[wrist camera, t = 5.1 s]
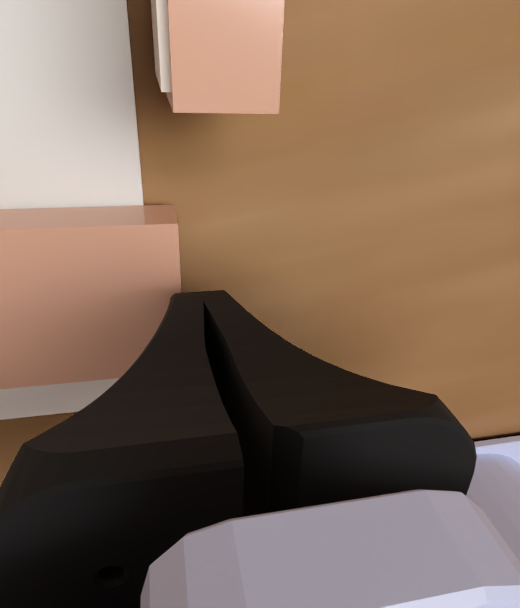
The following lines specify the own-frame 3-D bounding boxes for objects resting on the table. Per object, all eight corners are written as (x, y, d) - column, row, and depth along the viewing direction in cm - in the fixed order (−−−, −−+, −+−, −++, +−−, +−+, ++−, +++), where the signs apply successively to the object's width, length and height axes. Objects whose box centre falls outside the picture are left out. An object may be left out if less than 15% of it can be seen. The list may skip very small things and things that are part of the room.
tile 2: (185, 371, 14) (-42, 393, 13) (181, 339, 15) (-22, 356, 14) (178, 223, 12) (-96, 233, 10) (174, 203, 13) (-66, 209, 12)
